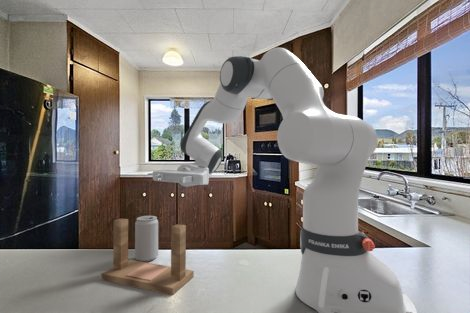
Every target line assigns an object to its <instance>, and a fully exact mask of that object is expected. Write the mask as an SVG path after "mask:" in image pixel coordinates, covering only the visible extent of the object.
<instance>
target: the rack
mask: <svg viewBox="0 0 470 313" xmlns="http://www.w3.org/2000/svg"><path fill="white" fill-rule="evenodd" d="M170 227H171V230H170V236H171V237H170V259H171V260H170V266H169V265H168V266H167V265H163V264H156V263H152V262H151V263H150V262H140V261H138V260H133V259H129V219H128V218H118V219H113V252H112V255H113V261H112V264H113V266H112V268H109V269H108V270H106V271H104V272H102V273H101V281H106V282H110V283H114V284H120V285H124V286H129V287H133V288H137V289H142V290H143V289H144V290H148V291H152V292H155V293H161V294H166V295H171V296H174V295H175V294H177V292H179V291H180V289H182V288H183V287H184V286H185V285H186V284H187V283H189V281H190V280H192V279H193V278H194V274H195V273H194V270H192V269H187V268H186V266H187V261H186V258H187V255H186V253H187V249H186V248H187V247H186V246H187V245H186V244H187V241H186V240H187V232H186V231H187V229H186V228H187V225H186V224H180V223H179V224H178V223H177V224H175V225H171V226H170Z"/></svg>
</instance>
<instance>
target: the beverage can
mask: <svg viewBox="0 0 470 313" xmlns="http://www.w3.org/2000/svg"><path fill="white" fill-rule="evenodd" d="M157 218H158V217H157V216H155V215H142V216H138V217H137V218H136V220H135V222H134V228H135V229H134V258H135V259H136V261H140V262H146V263H149V262H152V261H155V260H156V258H157V257H158V256H159V220H158V219H157Z"/></svg>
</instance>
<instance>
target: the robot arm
mask: <svg viewBox="0 0 470 313" xmlns="http://www.w3.org/2000/svg"><path fill="white" fill-rule="evenodd" d="M219 81H220V84H219V85H218V88H217V91H216V93H215V96H214V98H213V99H212V100H211V101H206V102H205V103H204V104H202V106H201V107H200V109H199V110H198V111H197V113H196V115H195V117H194V118H193V120H192V122H191V124H190V125H189V127H188V129H187V131H186V132H185V134H184V135H183V136H182V138H181V139H180V141H179V145H180V146H179V147H180V151H181V152H182V153H183V154H185V155H186V156H189V157H191V158H192V159H193V160H194V162H188V163H183V164H181V165H179V166H178V167H177V169H176V170H175V169H160V170H158V169H157V170H153V171H152V180H153V181H154V182H163V183H164V182H166V183H176V184H177V183H179V184H180V185H181V186H183V187H187V188H189V187H193V186H207V185H209V183H210V181H209V180H210V177H211V176H212V175H213V173H215V172H216V171H217V170H218V169H219V167H220V165H221V163H222V161H223V153H222V149H220V148H219V147H218V146H216V145H214V144H213V143H212V142H210V141H209V140H208V139H206V138H205V137H204V136H202V134H201V133H202V131H203V130H204V128H205V126H206V124H207V123H208V121H210V122H215V123H218V124H230V123H231V124H232V123H233V122H236V121H237V120H239V118H240V117H241V115H242V113H243V112H244V110H245V107H246V105H247V103H248V99H249V98H251V99H256V100H266V101H267V100H268V101H274V103H275V105H276V106H277V108H278V110H279V112H280V113H281V116H282V121H281V122H280V124H279V127H278V128H277V129H278V130H277V135H276V142H277V145H278V149H279V151H280V153H281V155H283V157H284V158H286V159H287V160H290V161H294V162H297V163H300V164H305V165H317V167H316V170H315V174H314V176H313V179H312V181H311V182H310V183H309V184H308V185H307V186H306V187H305V188H304V191H303V194H302V226H301V228H300V231H299V234H300V239H299V242H300V244H299V245H300V253H301V260H300V261H301V262H300V268H299V274H298V278H297V283H296V285H295V288H294V291H295V294H296V296H297V298H299V300H300V301H302V303H304V304H305V305H307V306H308V307H311V308H312V309H313V310H315V311H316V312H317V313H418V311H417V308H416V306H415V303H413V301H412V300H411V299H410V298H409V297H408V295H407V294H406V293H404V292H403V290H402V286H401V283H400V280H399V279H398V276H397V274H395V272H394V270H392V269H391V267H389V265H387V264H386V263H384V262H383V260H381V259H380V258H378V257H377V256H376V255H375V254H373V252H372V251H374V250H375V247H376V246H375V243H374V241H373V240H372V239H370V238H369V236H368V235H367V234H365V233H364V232H363V231H360V230H359V197H360V190H361V188H360V187H361V184H362V180H363V177H364V173H365V170H366V167H367V163H368V161H369V159H370V157H371V156H372V155H373V154H374V153H375V151H376V149H377V146H378V141H379V140H378V134H377V131H376V130H375V128H374V127H373V126H372V125H371V124H369V123H368V122H366V121H365V120H363V119H361V118H359V117H357V116H353V115H348V114H347V115H346V114H341V113H336V112H334V111H332V109H329V108H328V107H327V106H326V105H325V103H324V100H323V99H324V88H323V86H322V84H321V83H320V82H319V81H318V79H317V78H316V77H315V76H314V74H313V73H312V72H311V70H309V69H308V67H307V66H306V65H305V64H304V62H302V61H301V59H299V57H297V56H296V55H295V54H294V53H293V52H291V51H290V50H288V49H287V48H285V47H273V48H271V49H269V50H268V51H266V52H265V53H264V54H263V56H262V57H261V59H260V60H259V59H255V58H251V57H249V56H242V55H241V56H240V55H239V56H238V55H237V56H230V57H228V58H227V59H226V60H225V61H224V63H223V64H222V66H221V69H220V73H219Z"/></svg>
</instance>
